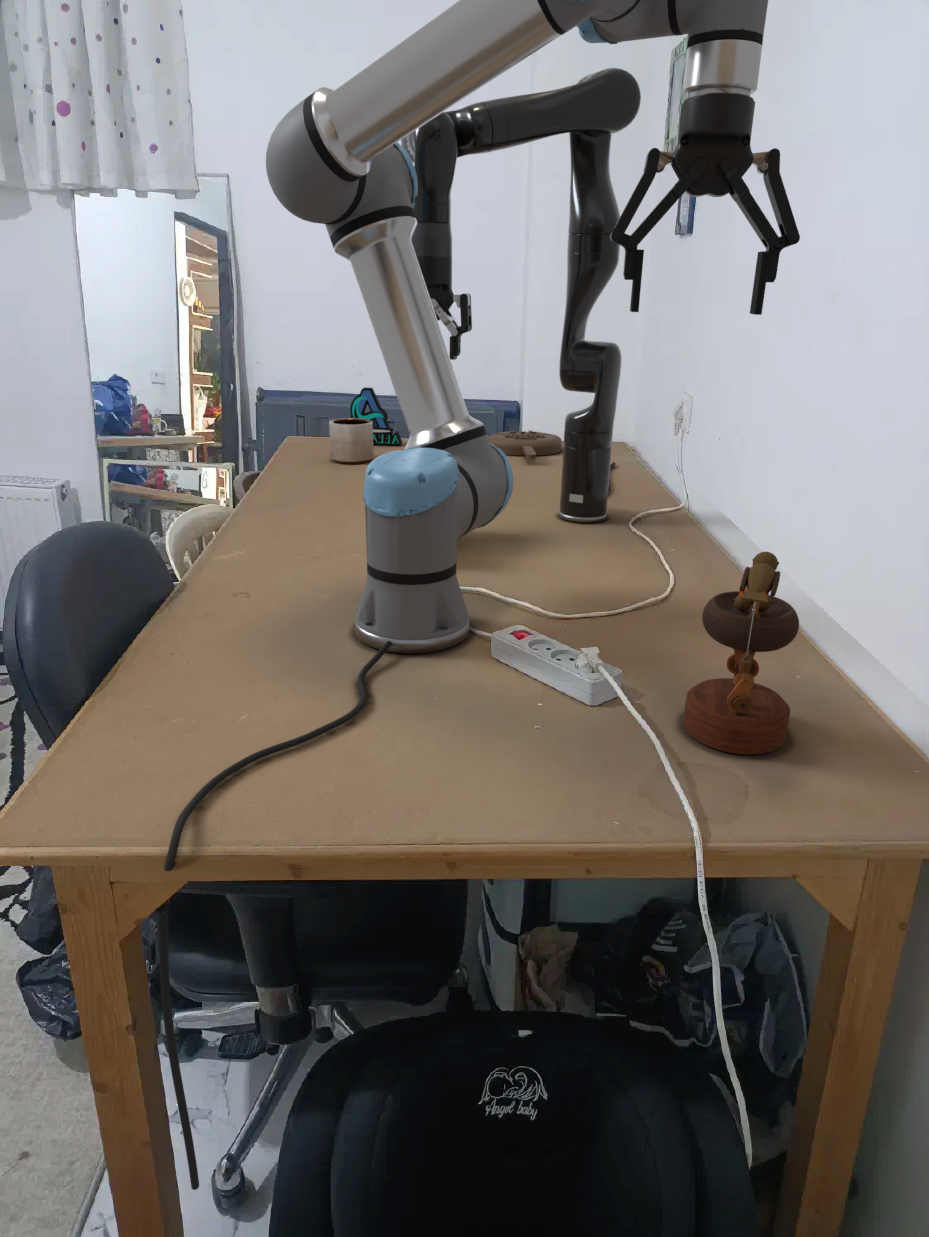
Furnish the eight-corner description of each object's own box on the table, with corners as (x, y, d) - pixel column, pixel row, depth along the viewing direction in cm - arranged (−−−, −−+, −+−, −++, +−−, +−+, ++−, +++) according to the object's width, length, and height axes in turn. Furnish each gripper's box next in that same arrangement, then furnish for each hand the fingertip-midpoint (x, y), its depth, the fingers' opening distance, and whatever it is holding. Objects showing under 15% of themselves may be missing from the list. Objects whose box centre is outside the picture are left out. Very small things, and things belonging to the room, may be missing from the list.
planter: (327, 456, 217) (325, 418, 214) (369, 454, 220) (368, 417, 217) (334, 465, 208) (332, 425, 204) (377, 463, 211) (376, 424, 207)
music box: (807, 766, 83) (825, 574, 75) (692, 766, 84) (698, 577, 77) (772, 695, 97) (784, 526, 89) (674, 696, 98) (678, 530, 91)
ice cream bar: (490, 464, 211) (490, 447, 209) (483, 443, 237) (483, 428, 235) (573, 465, 212) (575, 448, 210) (557, 444, 238) (558, 429, 236)
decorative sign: (402, 443, 235) (401, 388, 229) (401, 445, 232) (400, 389, 227) (334, 442, 236) (332, 386, 230) (333, 443, 233) (330, 387, 228)
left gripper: (831, 104, 91) (798, 313, 99) (596, 104, 93) (583, 309, 101) (853, 90, 84) (816, 316, 92) (600, 90, 86) (585, 312, 94)
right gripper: (477, 255, 139) (475, 358, 145) (395, 254, 142) (396, 355, 148) (465, 254, 132) (463, 362, 138) (379, 253, 135) (381, 358, 142)
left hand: (694, 313), depth 96 cm, fingers open, 13 cm apart
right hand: (429, 358), depth 143 cm, fingers open, 8 cm apart
